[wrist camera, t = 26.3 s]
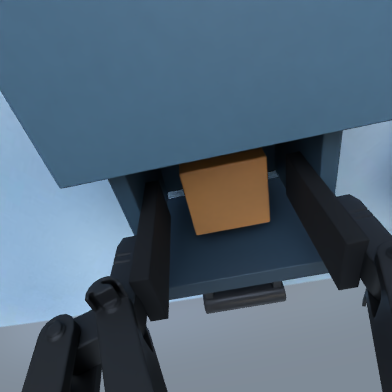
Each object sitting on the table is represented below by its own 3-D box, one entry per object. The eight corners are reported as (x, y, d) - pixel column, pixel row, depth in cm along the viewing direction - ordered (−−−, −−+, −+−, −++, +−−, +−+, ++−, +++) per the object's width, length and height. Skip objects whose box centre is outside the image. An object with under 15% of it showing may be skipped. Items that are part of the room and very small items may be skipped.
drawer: (291, 229, 26) (333, 317, 19) (173, 251, 27) (171, 343, 20) (291, -11, 15) (392, -17, 8) (93, 38, 16) (27, 72, 9)
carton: (191, 181, 21) (196, 236, 16) (178, 127, 19) (178, 174, 14) (248, 169, 21) (270, 222, 16) (243, 113, 18) (267, 156, 13)
